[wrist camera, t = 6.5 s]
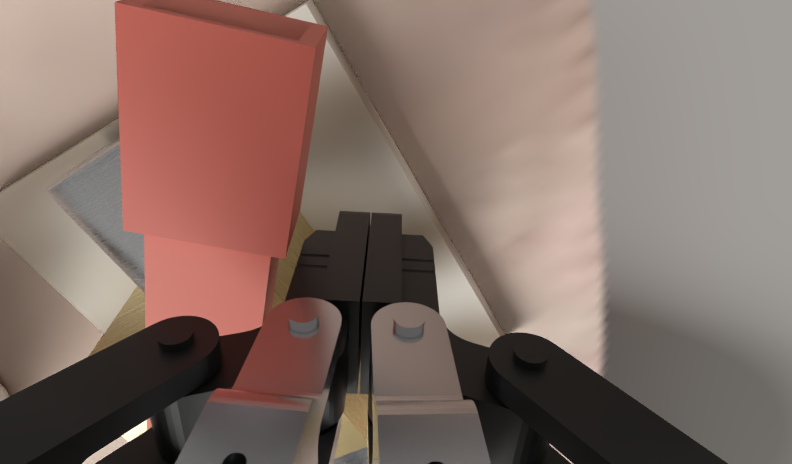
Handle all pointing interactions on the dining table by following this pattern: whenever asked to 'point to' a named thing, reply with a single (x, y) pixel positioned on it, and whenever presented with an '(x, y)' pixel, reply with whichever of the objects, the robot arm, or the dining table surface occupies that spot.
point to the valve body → (102, 221)
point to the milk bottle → (3, 393)
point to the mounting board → (321, 203)
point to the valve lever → (213, 150)
